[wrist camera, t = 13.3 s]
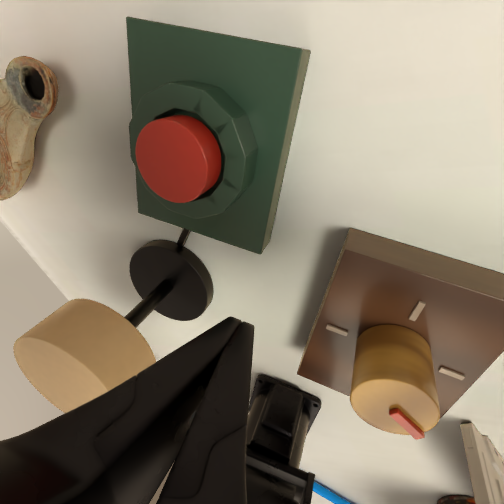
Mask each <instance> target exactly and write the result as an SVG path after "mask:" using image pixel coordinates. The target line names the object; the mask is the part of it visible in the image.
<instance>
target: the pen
mask: <svg viewBox="0 0 504 504" xmlns="http://www.w3.org/2000/svg"><path fill="white" fill-rule="evenodd" d="M313 491H314V492H316V493H317V494H319V495H321V496H322V497H324V498H326V499H328V500H329V501H331V502H333V503H334V504H351V503H350V502H348V501H346V500H345V499H343V498H341V497H339V496H338V495H336V494H334V493H333V492H331V491H329V490H328V489H326V488H324V487H322V486H321V485H319V484H317V483H316V482H314V484H313Z"/></svg>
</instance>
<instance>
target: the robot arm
mask: <svg viewBox="0 0 504 504" xmlns="http://www.w3.org/2000/svg"><path fill="white" fill-rule="evenodd" d="M253 340H254V325H252V324H249V323H247V322H242V321H241V320H239V319H236V318H234V317H228V318H226V319H225V320H223V321H222V322H220V323H218V324H217V325H215V326H214V327H212V328H210V329H209V330H207V331H205V332H204V333H202V334H201V335H199V336H197V337H196V338H194V339H193V340H191V341H189V342H188V343H186V344H184V345H183V346H181V347H180V348H178V349H176V350H175V351H173V352H172V353H170V354H168V355H167V356H165V357H164V358H162V359H160V360H159V361H157V362H155V363H154V364H152V365H151V366H149V367H147V368H146V369H144V370H143V371H141V372H139V373H138V374H137V376H136V375H134V376H133V377H131V378H129V379H128V380H126V381H125V382H123V383H121V384H120V385H118V386H116V387H115V388H113V389H111V390H109V391H108V392H106V393H104V394H102V395H100V396H98V397H97V398H95V399H93V400H91V401H89V402H87V403H85V404H83V405H81V406H79V407H77V408H75V409H73V410H71V411H69V412H67V413H65V414H63V415H61V416H59V417H57V418H55V419H53V420H51V421H49V422H47V423H45V424H43V425H41V426H39V427H37V428H35V429H33V430H31V431H29V432H26V433H24V434H21V435H19V436H16V437H13V438H10V439H6V440H3V441H0V504H149V503H150V501H151V499H152V498H153V496H154V494H155V493H156V491H157V489H158V488H159V486H160V484H161V483H162V481H163V479H164V478H165V476H166V474H167V472H168V471H169V469H170V468H171V466H172V464H173V463H174V464H173V466H172V468H171V471H170V473H169V475H168V477H167V480H166V482H165V484H164V487H163V489H162V491H161V494H160V496H159V499H158V501H157V503H156V504H311V497H312V491H313V484H314V478H315V474H313V473H310V472H309V473H307V472H305V471H302V470H300V469H299V464H300V460H301V456H302V451H303V447H304V442H305V438H306V435H307V433H308V431H309V429H310V427H311V425H312V423H313V421H314V419H315V418H316V416H317V414H318V412H319V410H320V408H321V401H320V400H319V399H317V398H315V397H312V396H310V395H308V394H306V393H303V392H301V391H299V390H296V389H294V388H292V387H289V386H287V385H285V384H282V383H280V382H278V381H275V380H273V379H271V378H269V377H266V376H264V375H258V377H257V379H256V383H255V387H254V390H253V394H252V398H251V402H250V405H249V396H250V382H251V368H252V354H253ZM248 410H249V415H248Z"/></svg>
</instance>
